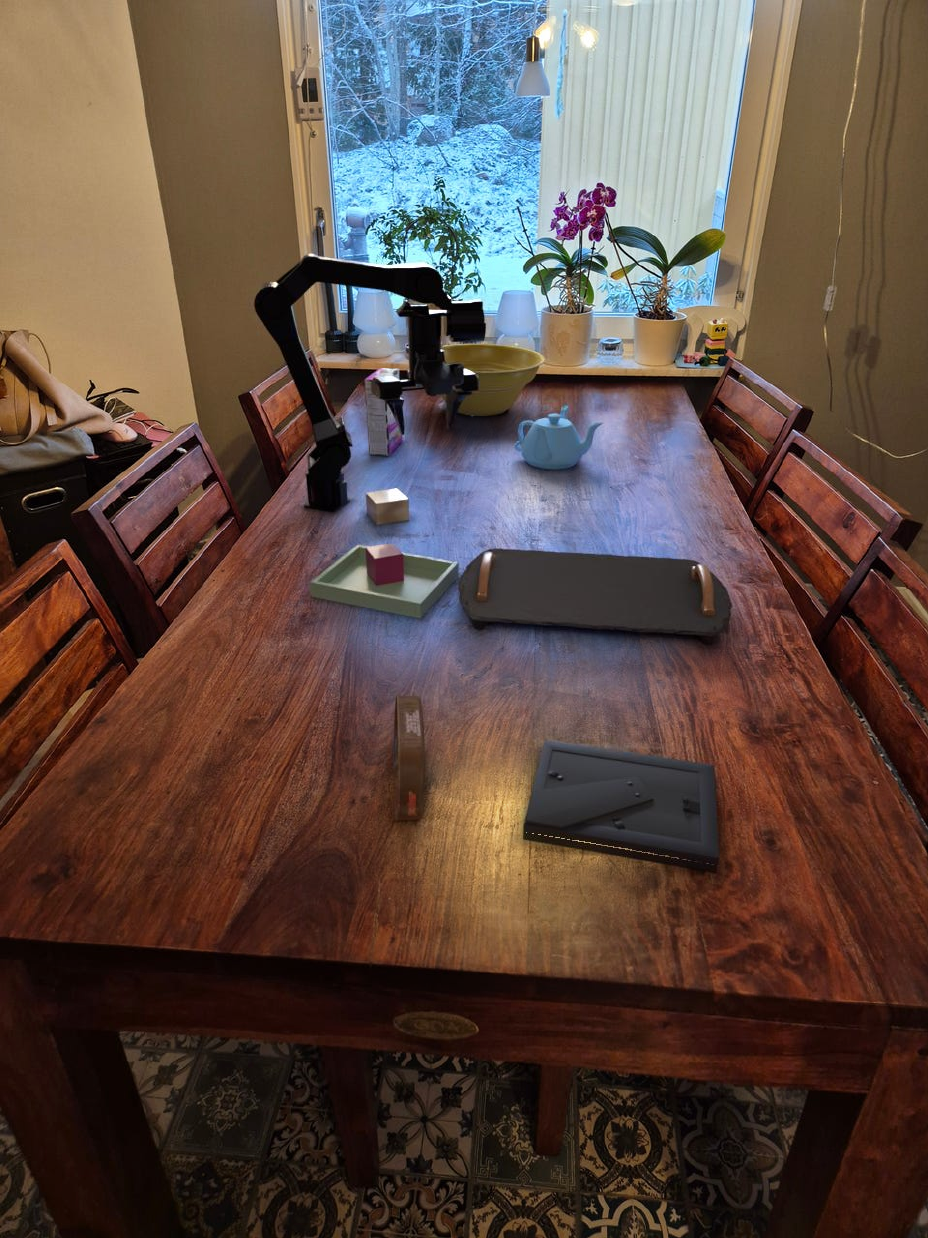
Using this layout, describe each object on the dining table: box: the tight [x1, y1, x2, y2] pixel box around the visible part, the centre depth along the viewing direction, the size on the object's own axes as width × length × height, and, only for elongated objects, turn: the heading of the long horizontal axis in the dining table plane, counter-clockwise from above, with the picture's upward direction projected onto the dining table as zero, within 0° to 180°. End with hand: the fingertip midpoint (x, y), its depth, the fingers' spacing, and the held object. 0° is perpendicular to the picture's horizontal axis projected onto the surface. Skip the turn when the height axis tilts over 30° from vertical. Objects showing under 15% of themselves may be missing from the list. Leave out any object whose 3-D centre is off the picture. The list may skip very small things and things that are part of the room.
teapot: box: [514, 404, 604, 470], centre depth 173 cm, size 15×15×10 cm
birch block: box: [365, 487, 410, 526], centre depth 146 cm, size 6×6×4 cm
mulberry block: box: [366, 542, 404, 586], centre depth 123 cm, size 4×4×4 cm
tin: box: [392, 694, 426, 822], centre depth 82 cm, size 15×3×8 cm, turn 5°
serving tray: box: [457, 548, 733, 646], centre depth 117 cm, size 39×23×6 cm, turn 83°
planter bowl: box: [440, 343, 545, 417], centre depth 208 cm, size 32×32×13 cm
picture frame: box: [522, 739, 720, 873], centre depth 81 cm, size 13×2×18 cm
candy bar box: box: [364, 367, 403, 457], centre depth 178 cm, size 11×5×16 cm, turn 168°
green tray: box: [309, 544, 460, 620], centre depth 123 cm, size 18×15×2 cm
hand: (426, 431), depth 149 cm, fingers open, 9 cm apart
